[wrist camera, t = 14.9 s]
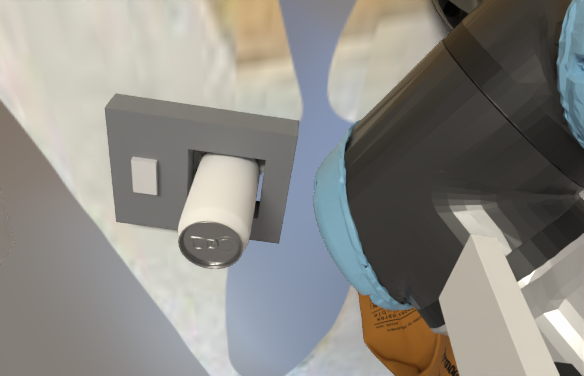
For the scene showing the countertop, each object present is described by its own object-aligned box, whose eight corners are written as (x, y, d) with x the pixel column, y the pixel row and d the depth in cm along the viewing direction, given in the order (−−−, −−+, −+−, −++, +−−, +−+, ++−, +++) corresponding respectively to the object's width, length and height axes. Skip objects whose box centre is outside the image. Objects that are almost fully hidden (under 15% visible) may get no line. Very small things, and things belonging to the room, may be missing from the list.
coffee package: (378, 296, 62) (404, 479, 44) (343, 231, 55) (357, 415, 38) (454, 275, 59) (514, 462, 41) (426, 204, 53) (483, 390, 35)
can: (260, 194, 53) (248, 274, 43) (202, 191, 53) (177, 270, 43) (260, 144, 49) (247, 220, 39) (197, 141, 49) (169, 215, 39)
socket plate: (298, 120, 47) (297, 139, 44) (280, 225, 55) (278, 247, 52) (115, 93, 46) (102, 110, 43) (125, 204, 54) (114, 225, 51)
